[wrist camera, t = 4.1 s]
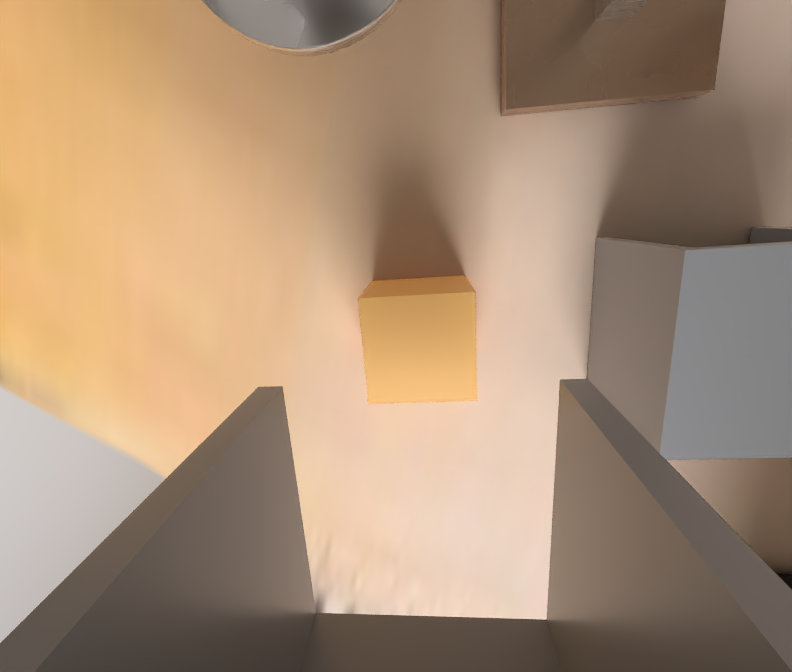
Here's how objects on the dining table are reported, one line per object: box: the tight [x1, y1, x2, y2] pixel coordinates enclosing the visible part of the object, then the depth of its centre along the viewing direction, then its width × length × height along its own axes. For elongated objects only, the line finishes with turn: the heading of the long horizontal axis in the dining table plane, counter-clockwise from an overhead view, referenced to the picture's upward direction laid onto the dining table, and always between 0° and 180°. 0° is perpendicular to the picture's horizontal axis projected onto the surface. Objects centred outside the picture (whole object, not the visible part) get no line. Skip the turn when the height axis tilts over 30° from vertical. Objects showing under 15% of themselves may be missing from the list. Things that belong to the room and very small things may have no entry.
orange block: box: [358, 275, 477, 404], centre depth 16 cm, size 4×4×4 cm
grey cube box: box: [587, 227, 792, 460], centre depth 14 cm, size 6×6×6 cm
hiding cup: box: [0, 379, 792, 672], centre depth 6 cm, size 6×6×6 cm
